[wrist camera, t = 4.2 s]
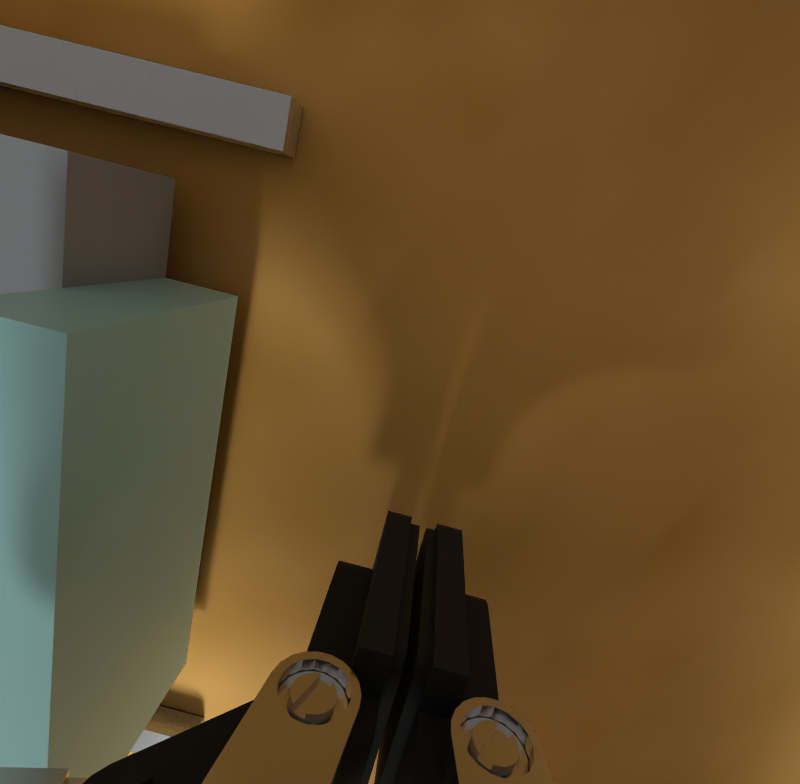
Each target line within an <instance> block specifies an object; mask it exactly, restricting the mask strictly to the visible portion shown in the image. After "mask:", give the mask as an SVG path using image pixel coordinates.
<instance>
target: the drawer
mask: <svg viewBox="0 0 800 784" xmlns="http://www.w3.org/2000/svg"><path fill="white" fill-rule="evenodd" d="M175 180H176V179H175V178H171V177H167V176H163V175H160V174H156V173H152V172H148V171H144V170H140V169H137V168H133V167H129V166H125V165H121V164H117V163H114V162H110V161H106V160H102V159H98V158H95V157H91V156H87V155H83V154H79V153H75V152H72V151H68V150H64V149H60V148H56V147H52V146H48V145H44V144H40V143H36V142H32V141H28V140H24V139H20V138H16V137H11V136H7V135H3V134H0V767H19V768H69V778H89V777H90V776H91V775H93V774H94V773H96V772H98V771H99V770H101V769H103V768H104V767H106V766H108V765H110V764H111V763H114V762H116V761H118V760H120V759H123V758H125V757H127V755H128V754H129V752H130V751H131V749H132V748H133V746H134V744H135V743H136V741H137V740H138V738H139V736H140V735H141V733H142V732H143V730H144V729H145V727H146V725H147V724H148V722H149V721H150V719H151V718H152V716H153V714H154V713H155V711H156V710H157V708H158V706H159V705H160V703H161V702H162V700H163V699H164V697H165V695H166V694H167V692H168V691H169V689H170V688H171V686H172V684H173V683H174V681H175V680H176V678H177V676H178V675H179V673H180V672H181V670H182V669H183V667H184V665H185V664H186V658H187V651H188V644H189V637H190V630H191V623H192V616H193V609H194V602H195V595H196V588H197V581H198V574H199V567H200V560H201V553H202V546H203V539H204V532H205V525H206V518H207V511H208V504H209V497H210V490H211V483H212V476H213V469H214V462H215V455H216V448H217V441H218V434H219V427H220V420H221V413H222V406H223V399H224V392H225V385H226V378H227V371H228V364H229V357H230V350H231V343H232V336H233V329H234V322H235V315H236V308H237V301H238V296H236V295H232V294H228V293H224V292H220V291H216V290H212V289H208V288H204V287H200V286H196V285H193V284H189V283H185V282H181V281H177V280H173V279H169V278H166V270H167V260H168V250H169V240H170V230H171V220H172V210H173V200H174V190H175Z"/></svg>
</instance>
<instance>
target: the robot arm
mask: <svg viewBox="0 0 800 784" xmlns="http://www.w3.org/2000/svg"><path fill="white" fill-rule="evenodd" d="M411 520H412V517H410V516H406V515H402V514H399V513H395V512H391V511H388V514H387V517H386V521H385V525H384V528H383V532H382V536H381V540H380V543H379V547H378V551H377V554H376V558H375V562H374V566H373V569H369V568H365V567H362V566H358V565H354V564H351V563H347V562H343V561H339V562H338V564H337V567H336V570H335V573H334V575H333V578H332V581H331V584H330V587H329V590H328V593H327V595H326V598H325V601H324V604H323V607H322V610H321V613H320V616H319V618H318V621H317V624H316V627H315V630H314V633H313V636H312V638H311V641H310V644H309V647H308V650H307V652H301V653H298V654H294V655H291V656H289V657H288V658H286V659H284V660H283V661H281V662H280V663H279V664H278V665H277V666H276V667H275V669H274V670H273V671H272V672H271V674H270V675H269V677H268V679H267V680H266V682H265V683H264V685H263V686H262V688H261V690H260V691H259V693H258V694H257V696H256V698H255V699H254V700H253V701H251V702H248V703H246V704H244V705H242V706H239V707H237V708H235V709H233V710H230V711H228V712H226V713H224V714H221V715H219V716H217V717H215V718H212V719H210V720H208V721H206V722H203V723H201V724H199V725H197V726H194V727H192V728H190V729H188V730H185V731H183V732H181V733H179V734H176V735H174V736H172V737H170V738H167V739H165V740H163V741H161V742H158V743H156V744H154V745H152V746H149V747H147V748H145V749H143V750H141V751H138V752H136V753H134V754H132V755H129V756H127V757H125V758H123V759H120V760H118V761H116V762H114V763H111V764H110V765H108V766H106V767H104V768H103V769H101V770H99V771H98V772H96V773H94V774H93V775H91V776H90V777H89V778H69V768H19V767H0V784H368V782H369V779H370V775H371V772H372V769H373V766H374V762H375V759H376V756H377V753H378V750H379V754H378V761H377V768H376V776H375V783H374V784H555V783H554V780H553V777H552V774H551V771H550V768H549V765H548V762H547V759H546V756H545V753H544V750H543V747H542V745H541V742H540V740H539V738H538V736H537V734H536V732H535V730H534V729H533V728H532V727H531V725H530V724H529V723H528V721H527V720H526V719H525V718H524V717H523V716H522V715H520V714H519V713H518V712H517V711H516V710H515V709H513V708H512V707H510V706H508V705H506V704H504V703H503V702H501V701H499V700H498V691H497V682H496V673H495V664H494V655H493V647H492V638H491V629H490V620H489V611H488V605H487V601H486V600H484V599H481V598H477V597H473V596H469V595H466V594H465V578H464V559H463V539H462V531H461V530H459V529H455V528H451V527H447V526H444V525H440V524H437V526H436V528H435V530H433V529H429V528H427V529H426V531H425V534H424V537H423V541H422V544H421V547H420V551H419V554H418V557H417V548H418V538H419V528H420V526H418V525H414V524H411ZM416 558H417V561H416Z"/></svg>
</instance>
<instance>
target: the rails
mask: <svg viewBox="0 0 800 784" xmlns="http://www.w3.org/2000/svg"><path fill="white" fill-rule="evenodd" d="M0 86H4V87H8V88H12V89H16V90H20V91H24V92H28V93H32V94H37V95H41V96H45V97H49V98H53V99H57V100H61V101H65V102H69V103H73V104H77V105H81V106H85V107H89V108H93V109H97V110H101V111H105V112H109V113H114V114H118V115H122V116H126V117H130V118H134V119H138V120H142V121H146V122H150V123H154V124H158V125H162V126H166V127H170V128H174V129H178V130H182V131H186V132H191V133H195V134H199V135H203V136H207V137H211V138H215V139H219V140H223V141H227V142H231V143H235V144H239V145H243V146H247V147H251V148H255V149H259V150H263V151H267V152H272V153H276V154H280V155H284V156H288V157H292V158H295V153H296V147H297V141H298V134H299V128H300V122H301V116H302V110H303V107H302V106H301V105H300V104H299V103H298V102H297V101H296V100H295V99H294V98H293V97H292V96H290V95H286V94H282V93H278V92H274V91H270V90H266V89H261V88H257V87H253V86H249V85H245V84H241V83H237V82H233V81H229V80H225V79H220V78H216V77H212V76H208V75H204V74H200V73H196V72H192V71H188V70H184V69H180V68H175V67H171V66H167V65H163V64H159V63H155V62H151V61H147V60H143V59H139V58H134V57H130V56H126V55H122V54H118V53H114V52H110V51H106V50H102V49H98V48H93V47H89V46H85V45H81V44H77V43H73V42H69V41H65V40H61V39H57V38H52V37H48V36H44V35H40V34H36V33H32V32H28V31H24V30H20V29H16V28H12V27H7V26H3V25H0ZM203 720H204V718H203V717H199V716H196V715H192V714H188V713H185V712H181V711H177V710H174V709H170V708H166V707H163V706H158V708H157V710H156V711H155V713H154V714H153V716H152V718H151V719H150V721H149V722H148V724H147V725H146V727H145V729H144V730H143V732H142V733H141V735H140V736H139V738H138V740H137V741H136V743H135V744H134V746H133V748H132V749H131V751H130V752H133V753H136V752H138V751H141V750H143V749H145V748H147V747H149V746H152V745H154V744H156V743H158V742H161V741H163V740H165V739H167V738H170V737H172V736H174V735H176V734H179V733H181V732H183V731H185V730H188V729H190V728H192V727H194V726H197V725H199V724H201V723H203Z"/></svg>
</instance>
